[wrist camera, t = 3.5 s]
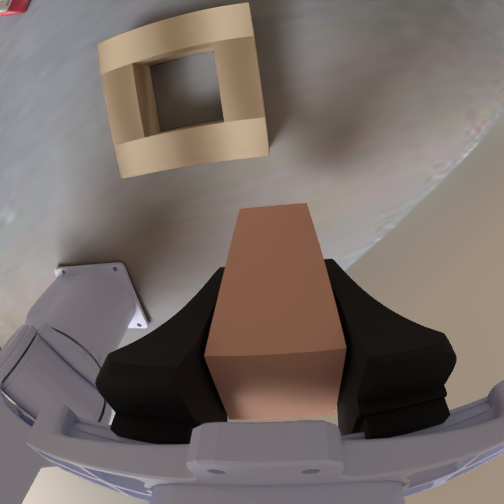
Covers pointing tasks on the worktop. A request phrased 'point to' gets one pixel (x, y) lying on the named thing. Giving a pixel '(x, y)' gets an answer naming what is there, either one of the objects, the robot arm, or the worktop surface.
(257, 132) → the socket block
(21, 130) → the worktop surface
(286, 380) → the peg
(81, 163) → the worktop surface
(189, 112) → the worktop surface
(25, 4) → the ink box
